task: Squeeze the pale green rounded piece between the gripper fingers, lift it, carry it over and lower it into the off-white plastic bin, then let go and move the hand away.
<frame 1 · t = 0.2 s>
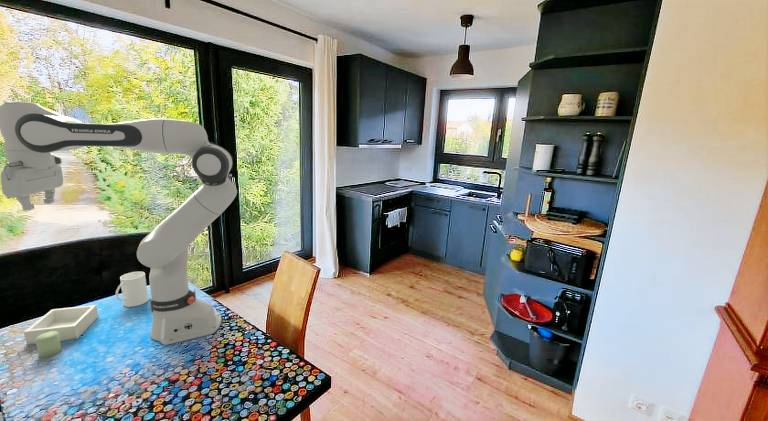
hand: (39, 206, 92), 47 cm above the table, tool pointing down, fingers open, 8 cm apart
pale green rounded piece: (50, 352, 99), on the table
mug: (132, 304, 128), on the table
bin: (65, 329, 110), on the table
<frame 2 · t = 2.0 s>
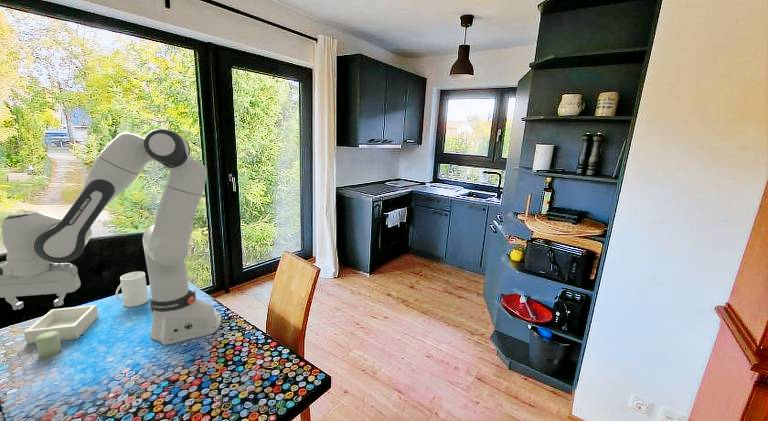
hand: (39, 306, 95), 16 cm above the table, tool pointing down, fingers open, 8 cm apart
nothing on the table moved.
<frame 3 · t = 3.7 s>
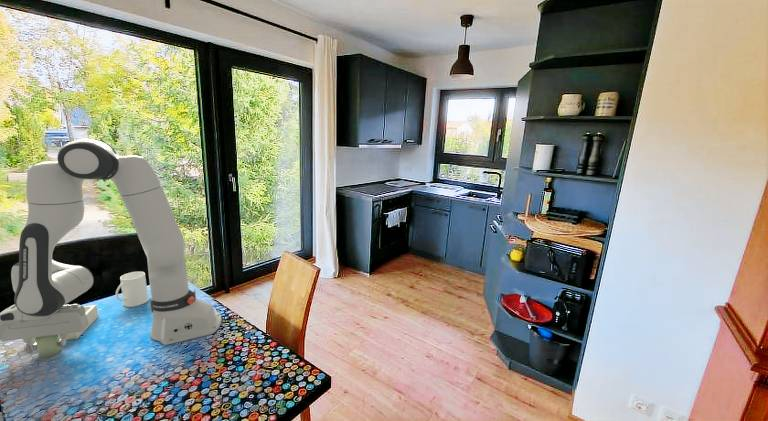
hand: (49, 346, 98), 2 cm above the table, tool pointing down, fingers closed on pale green rounded piece, 5 cm apart
pale green rounded piece: (50, 352, 99), on the table, touching gripper
everything else where it was.
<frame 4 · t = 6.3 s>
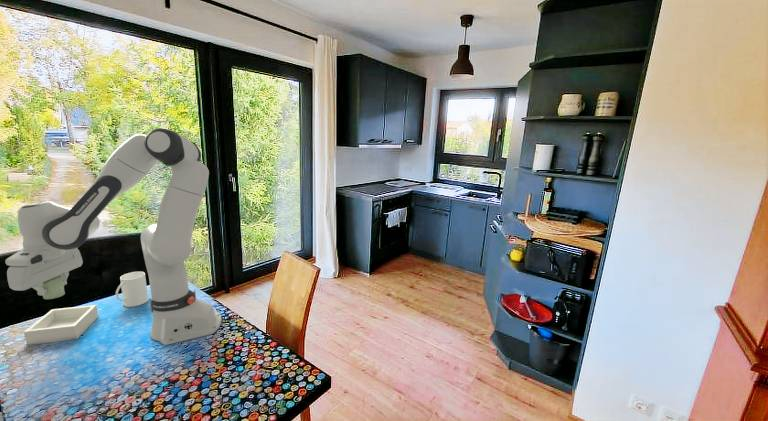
hand: (53, 289, 103), 17 cm above the table, tool pointing down, fingers closed on pale green rounded piece, 5 cm apart
pale green rounded piece: (54, 295, 103), point 15 cm above the table, touching gripper
everything else where it was.
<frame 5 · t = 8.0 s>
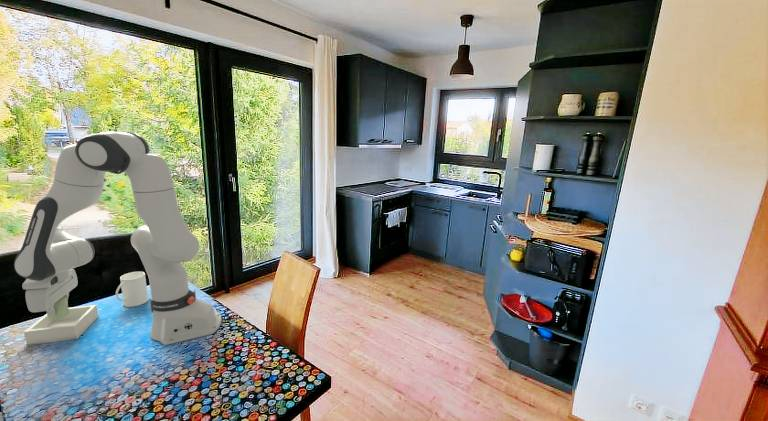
hand: (58, 310, 107), 8 cm above the table, tool pointing down, fingers closed on pale green rounded piece, 5 cm apart
pale green rounded piece: (58, 316, 107), point 6 cm above the table, touching gripper
everything else where it was.
when the fingers open (6 cm above the table, at t = 9.2 s): pale green rounded piece drops 3 cm, resting on bin.
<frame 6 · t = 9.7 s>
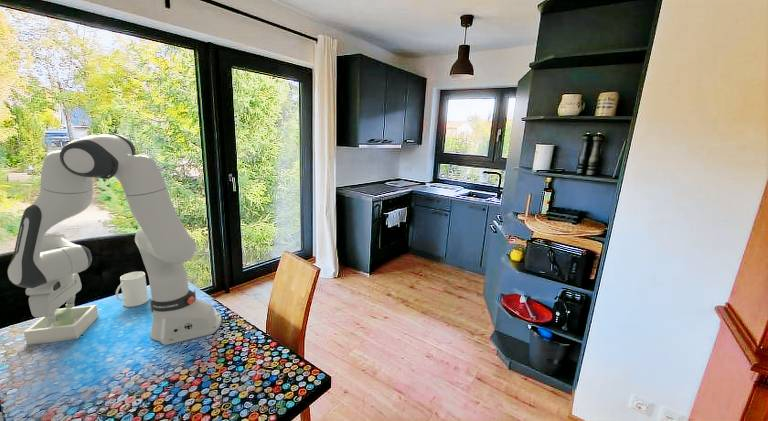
hand: (62, 314, 108), 6 cm above the table, tool pointing down, fingers open, 8 cm apart
pale green rounded piece: (64, 327, 109), point 1 cm above the table, touching bin
everything else where it was.
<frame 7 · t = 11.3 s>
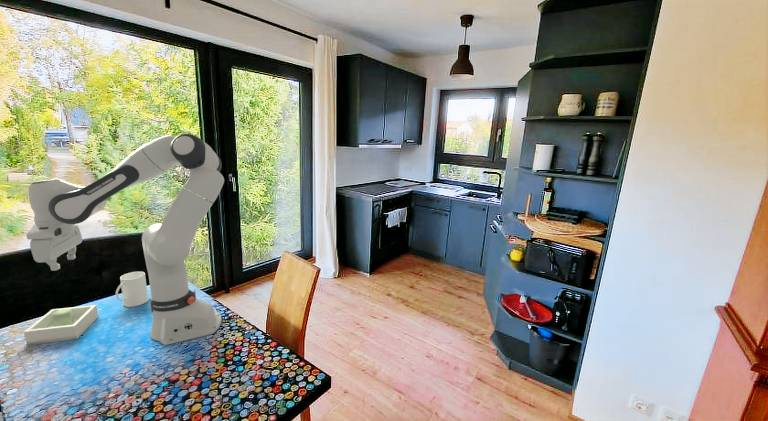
hand: (64, 264, 108), 24 cm above the table, tool pointing down, fingers open, 8 cm apart
nothing on the table moved.
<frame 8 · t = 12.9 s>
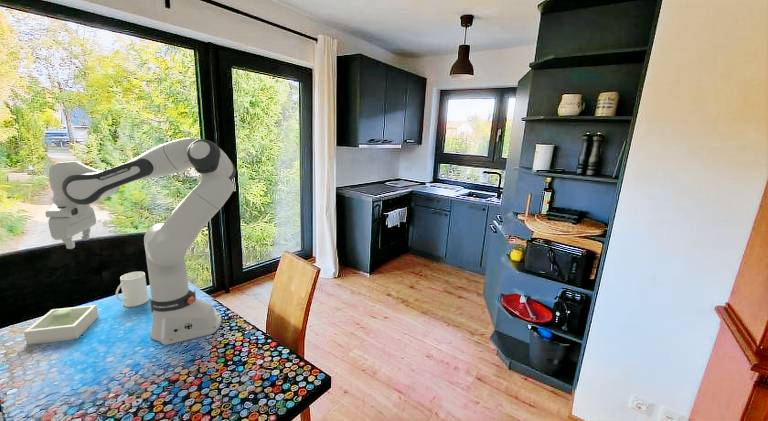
hand: (78, 243, 112), 29 cm above the table, tool pointing down, fingers open, 8 cm apart
nothing on the table moved.
at the end: pale green rounded piece inside the target area on the bin (0.2 cm from its centre), point 1.0 cm above the bin's base; the gripper is holding nothing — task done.
